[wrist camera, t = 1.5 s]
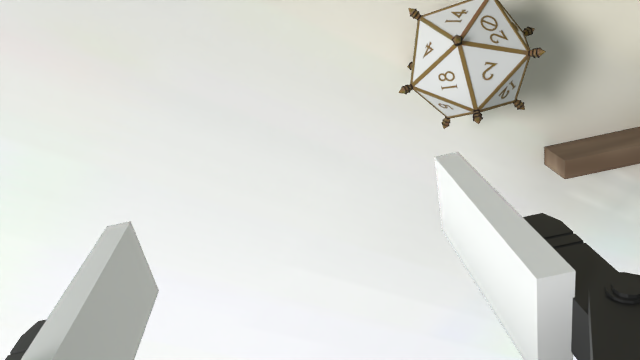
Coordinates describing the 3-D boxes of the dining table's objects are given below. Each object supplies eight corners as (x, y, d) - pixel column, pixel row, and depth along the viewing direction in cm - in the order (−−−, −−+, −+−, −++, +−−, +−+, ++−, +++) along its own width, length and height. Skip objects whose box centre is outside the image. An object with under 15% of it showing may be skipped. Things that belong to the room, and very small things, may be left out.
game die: (408, 36, 38) (367, -13, 28) (525, -2, 34) (522, -71, 25) (431, 149, 37) (396, 136, 28) (553, 121, 33) (560, 96, 24)
